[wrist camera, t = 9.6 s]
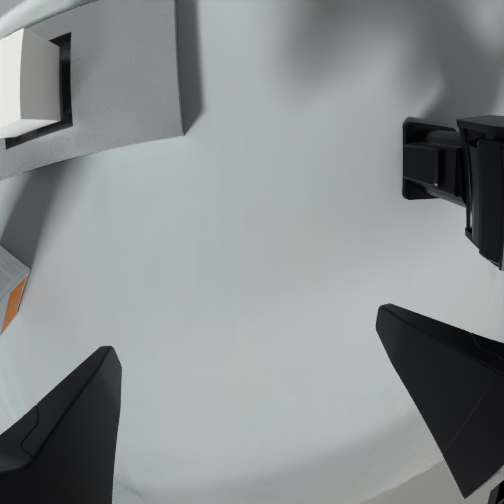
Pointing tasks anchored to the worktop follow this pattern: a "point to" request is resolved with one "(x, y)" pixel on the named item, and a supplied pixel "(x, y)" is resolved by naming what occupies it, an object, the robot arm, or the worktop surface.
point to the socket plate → (106, 83)
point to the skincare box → (10, 286)
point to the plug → (29, 83)
